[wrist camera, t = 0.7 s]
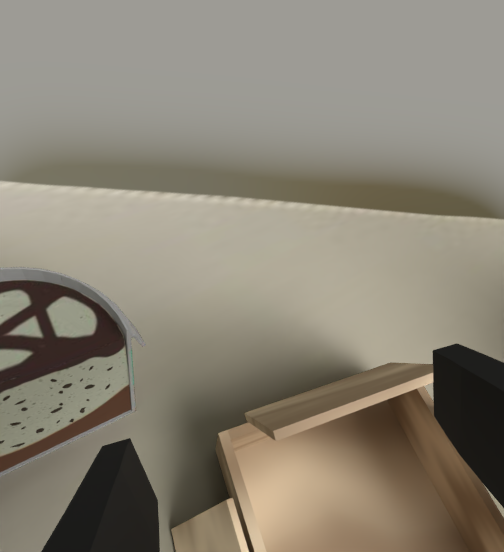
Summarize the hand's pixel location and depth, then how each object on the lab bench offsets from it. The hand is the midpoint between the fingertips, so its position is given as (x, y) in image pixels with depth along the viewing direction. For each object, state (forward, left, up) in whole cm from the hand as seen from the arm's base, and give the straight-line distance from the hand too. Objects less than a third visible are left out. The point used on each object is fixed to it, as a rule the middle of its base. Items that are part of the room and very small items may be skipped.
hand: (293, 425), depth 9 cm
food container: (+9, +9, -16) cm, 21 cm away
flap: (+3, -6, -12) cm, 13 cm away
